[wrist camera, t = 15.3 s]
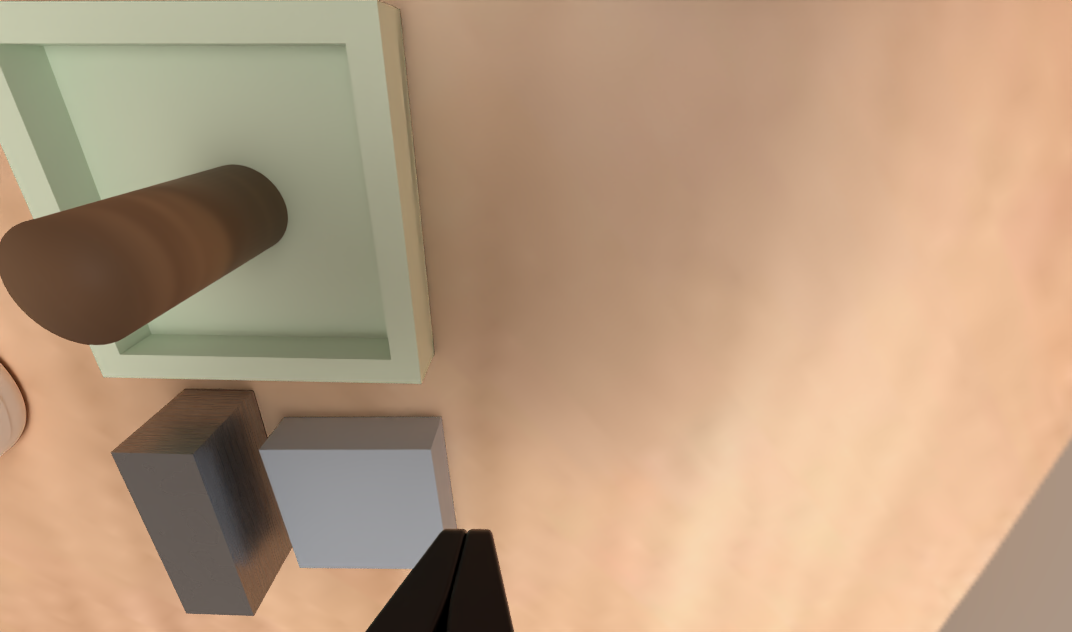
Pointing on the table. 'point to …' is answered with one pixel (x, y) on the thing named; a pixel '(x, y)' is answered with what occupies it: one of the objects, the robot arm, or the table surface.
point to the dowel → (138, 251)
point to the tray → (242, 139)
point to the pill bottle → (10, 411)
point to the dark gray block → (208, 499)
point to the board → (360, 488)
